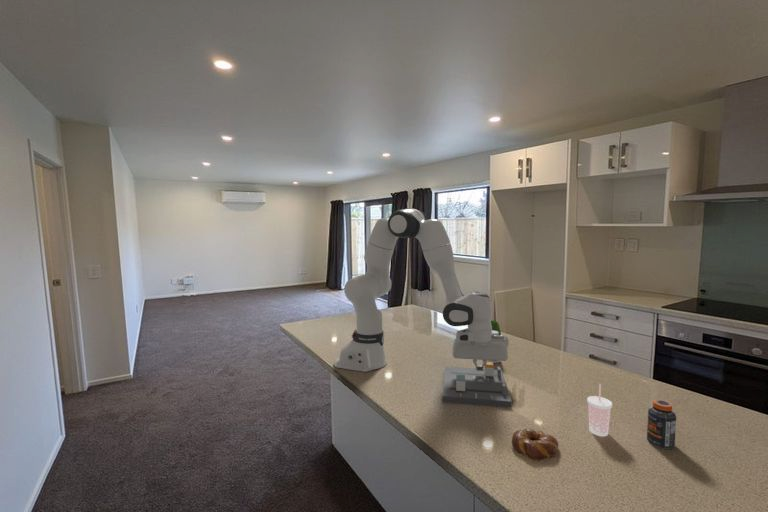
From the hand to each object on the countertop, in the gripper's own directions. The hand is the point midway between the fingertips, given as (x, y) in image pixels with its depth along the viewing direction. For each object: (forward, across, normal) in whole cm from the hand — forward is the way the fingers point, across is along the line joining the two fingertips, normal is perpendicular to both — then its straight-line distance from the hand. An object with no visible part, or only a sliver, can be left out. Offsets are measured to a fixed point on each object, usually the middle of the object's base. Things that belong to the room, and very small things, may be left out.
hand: (479, 370), depth 136 cm
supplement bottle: (+4, -7, -21) cm, 23 cm away
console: (+4, +2, +7) cm, 8 cm away
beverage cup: (+4, -31, +30) cm, 43 cm away
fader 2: (+1, -4, 0) cm, 4 cm away
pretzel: (+4, -12, +41) cm, 43 cm away
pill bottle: (+4, -45, +33) cm, 56 cm away
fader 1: (+1, +7, +14) cm, 16 cm away
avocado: (+4, -9, -44) cm, 45 cm away
